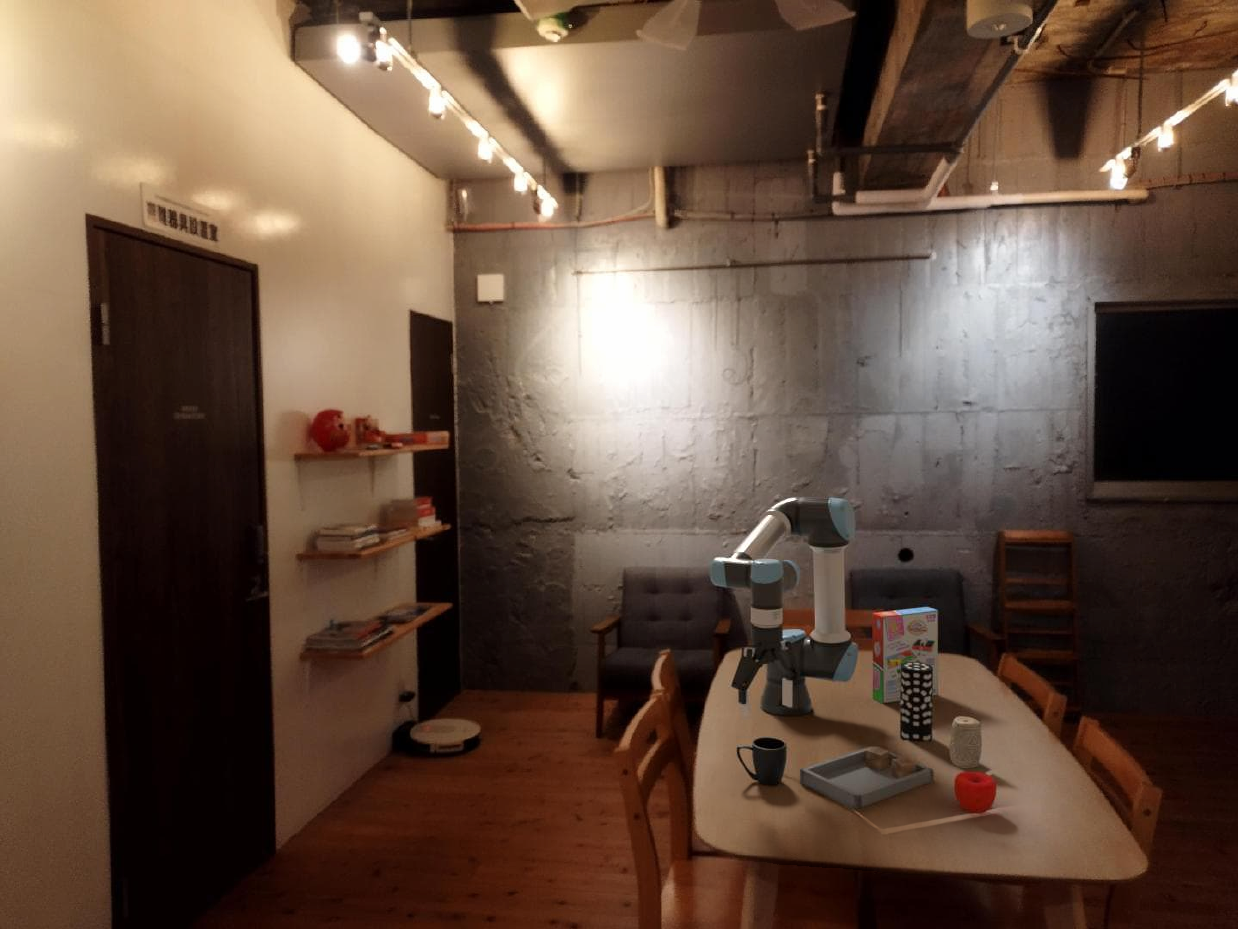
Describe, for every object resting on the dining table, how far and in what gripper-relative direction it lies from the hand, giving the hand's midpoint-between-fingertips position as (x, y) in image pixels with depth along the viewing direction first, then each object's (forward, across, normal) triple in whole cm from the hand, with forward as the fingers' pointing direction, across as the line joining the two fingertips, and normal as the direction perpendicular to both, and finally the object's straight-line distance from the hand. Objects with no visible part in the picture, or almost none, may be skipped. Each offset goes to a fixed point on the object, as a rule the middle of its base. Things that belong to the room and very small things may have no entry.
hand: (766, 711), depth 208 cm
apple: (+17, +28, -38) cm, 50 cm away
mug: (+18, -1, +1) cm, 18 cm away
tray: (+17, +19, -15) cm, 29 cm away
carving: (+17, +47, -22) cm, 54 cm away
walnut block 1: (+16, +27, -11) cm, 34 cm away
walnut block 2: (+16, +27, -19) cm, 37 cm away
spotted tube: (+17, +52, -3) cm, 55 cm away
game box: (+17, +77, +21) cm, 82 cm away
